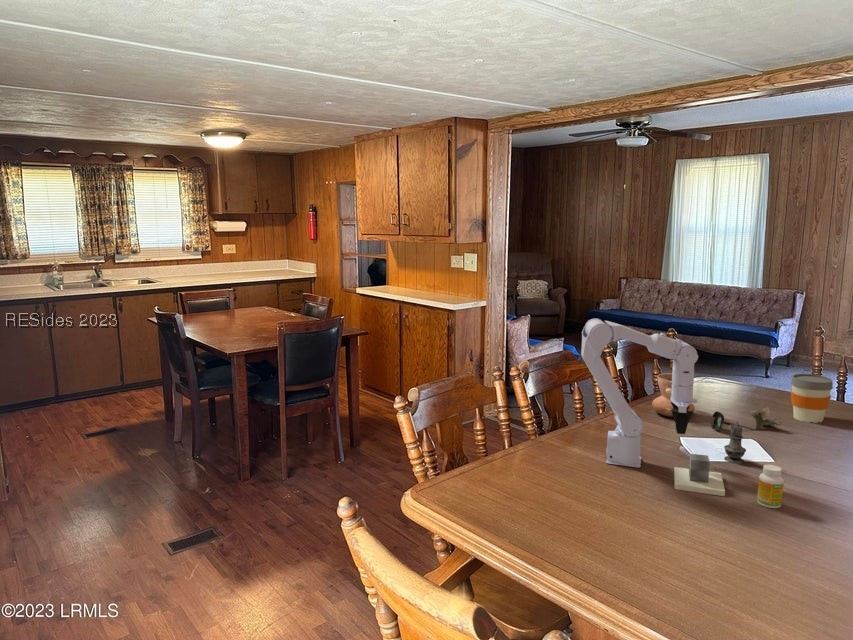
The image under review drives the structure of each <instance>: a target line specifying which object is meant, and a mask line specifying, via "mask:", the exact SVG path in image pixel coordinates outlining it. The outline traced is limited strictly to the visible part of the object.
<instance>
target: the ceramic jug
mask: <svg viewBox="0 0 853 640" xmlns="http://www.w3.org/2000/svg"><path fill="white" fill-rule="evenodd" d="M656 378H657V384H658V388H659V391H660V393H661V395H660V396H658V397H655V398H654V400H653V401H652V403H651V406H652V409H653V410H654V411H655V412H656V413H658V414H660V415H662V416H664V417H669V418H674V416H673V414H672V412H671V409H673V406H672V404H671V401H670V398H671V393H672V372H668V373H667V372H665V373H664V372H663V373H659V374H657V376H656ZM695 409H696V408H695V405H694V403H692V404H691V405H690V407H689V409H688V411H693V413H695Z"/></svg>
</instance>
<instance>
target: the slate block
mask: <svg viewBox="0 0 853 640" xmlns="http://www.w3.org/2000/svg"><path fill="white" fill-rule="evenodd" d="M688 469H689V478H690V481H696V482H704V483H708V480H709V472H710V458H709V455H707V454H705V455H704V454H698V453H689V464H688Z"/></svg>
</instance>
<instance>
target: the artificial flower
mask: <svg viewBox="0 0 853 640" xmlns="http://www.w3.org/2000/svg"><path fill="white" fill-rule="evenodd" d="M750 413H751V416H752V417H753V419H754V420H755V428H751V427H749V426H745V425H742V424H740V425H741V426H742V428H744V429H748V430H750V431H758V430H761V429H762V428H763V426H770V427H775V425H777V426H781V425H782V424H783V422H782V420H779V419H776V418H768V417H769V415H770V414H771V413H770V409H769V406H766V407H762V408H759V409H756V410H755V409H754V410H750ZM712 418H714V419H713V422H712V423H711V425H710V426H711V429H712V430H715V431H718V432H719V431H722V429H723V428H722V426H723V425H727V426H732V425H733V424H734V423H732V422H726V421H725V416H724V414H723V413H721V411H715V412H714V413H713V414H712ZM766 418H768V419H766Z"/></svg>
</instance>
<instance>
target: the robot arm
mask: <svg viewBox="0 0 853 640" xmlns="http://www.w3.org/2000/svg"><path fill="white" fill-rule="evenodd" d="M618 340H626V341H628V342H631V343H632V342H633V343H635V344H638V345H642V346H644V347H646V348H647V350H648V352H649V353H650V354H651V353H652V354H655V355H658V356H660V357H663V358H666V359H669V360H672V372H671V373H672V393H671V398H670V401H671V404H672V406H673V409H671V412H672V414H673V416H674V417H673V419H674V422H675V423H674V424H675V430H676V434H678V435H685V434H686V432H687V429H688V424H689V421H690V419H691V418H692V417H693V414H694V412H693V411H688V409H689V407H690V405H691V404H696V403H698V399H696V398H693V397H694V396H693V395H694V383H695V382H694V381H695V380H694V379H695V378H694V377H695V363H697V361H698V359H699V355H698V351H697V350H696V348H695V347H693V346H692V345H690V344H689V343H687V342H684V340H682V339H679V338H678V339H674V338H671V337H668V336H667V334H665V333H663V332H660V334H659V333H653V334H651V335H648V334H646V333H644V332H641V331H638V330H636V329H633V328H630V327H627V326H625V325H622V324H619V323H616V322H614V321H613V322H612V321H609V320H604V321H603V320H602V319H601V318H597V317H596V318H591V319H589V320H588V321H586V323H585V325H584V326H583V329H582V331H581V349H580V351H581V352H580V355H581V358H582V360H583V361H584V363H585V365H586V366H587V368H588V369H589V370H588V371H589V372H590V373H591V375H592V377H593V379H594V380H595V382H596V384H597V386H598V387H599V389H600V390H601V392H602V394H603V395H604V397H605V399H606V400H607V402H608V404H609V405H610V408H611V410H612V411H613V415H614V421H615V423H616V424H617V425H616V427H615V429H614V430H608V432H607V440H606V443H607V444H606V451H605V455H606V462H605V463H606V464H610V465H617V466H624V467H632V468H641V464H642V456H641V454H640V453H641V436H642V431H643V430H644V422H643V419H642V418H640V417H639V416H638V414H637V413H636V412H635V410H634V409H633V408H632V407H630V404H628V402H627V401H626V399H625V397H624V395H623V393H622V391H621V390H620V388H619V386H618V384H617V383H616V381H615V380H614V378H613V376H612V374H611V373H610V372H609V370H608V368H607V367H606V364H605V363H604V361H603V359H602V358H601V356H602V353H603V351H604V349H605V348H606V346H607V345H608V344H609V343H610V342H611V341H612V342H616V341H618Z"/></svg>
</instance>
